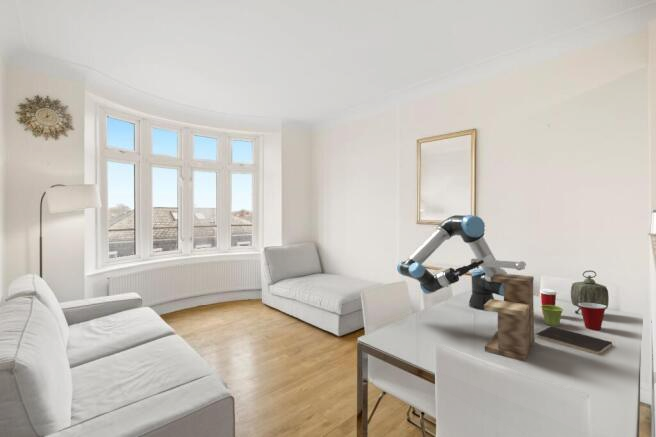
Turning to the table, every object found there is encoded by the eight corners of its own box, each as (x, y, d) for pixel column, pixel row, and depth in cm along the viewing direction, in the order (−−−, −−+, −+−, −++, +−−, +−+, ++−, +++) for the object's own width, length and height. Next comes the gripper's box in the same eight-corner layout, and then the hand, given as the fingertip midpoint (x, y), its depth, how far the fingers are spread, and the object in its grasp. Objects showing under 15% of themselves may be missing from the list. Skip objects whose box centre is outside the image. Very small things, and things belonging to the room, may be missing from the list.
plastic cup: (593, 323, 160) (592, 300, 160) (613, 331, 149) (612, 307, 149) (572, 324, 159) (572, 301, 159) (591, 332, 149) (591, 308, 148)
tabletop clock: (598, 312, 176) (597, 269, 175) (611, 318, 167) (610, 272, 166) (570, 312, 177) (570, 269, 177) (582, 317, 168) (581, 272, 168)
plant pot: (567, 327, 155) (567, 310, 155) (546, 327, 157) (546, 310, 157) (557, 321, 165) (557, 305, 164) (537, 320, 166) (537, 304, 166)
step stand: (484, 350, 133) (483, 281, 132) (497, 334, 150) (496, 272, 150) (525, 361, 123) (524, 286, 122) (534, 341, 140) (533, 276, 140)
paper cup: (551, 312, 178) (551, 288, 178) (560, 317, 170) (559, 292, 170) (537, 312, 179) (536, 288, 178) (545, 317, 171) (544, 292, 171)
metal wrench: (469, 265, 149) (469, 260, 148) (474, 263, 155) (474, 257, 154) (522, 270, 134) (522, 264, 134) (525, 267, 140) (525, 261, 140)
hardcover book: (598, 356, 126) (598, 351, 126) (536, 338, 146) (536, 333, 146) (612, 346, 135) (612, 341, 135) (551, 330, 154) (551, 325, 154)
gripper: (457, 281, 164) (499, 262, 151) (446, 287, 152) (491, 267, 139) (450, 268, 167) (491, 248, 153) (438, 273, 155) (482, 252, 141)
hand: (491, 257), depth 146 cm, fingers closed on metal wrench, 3 cm apart
